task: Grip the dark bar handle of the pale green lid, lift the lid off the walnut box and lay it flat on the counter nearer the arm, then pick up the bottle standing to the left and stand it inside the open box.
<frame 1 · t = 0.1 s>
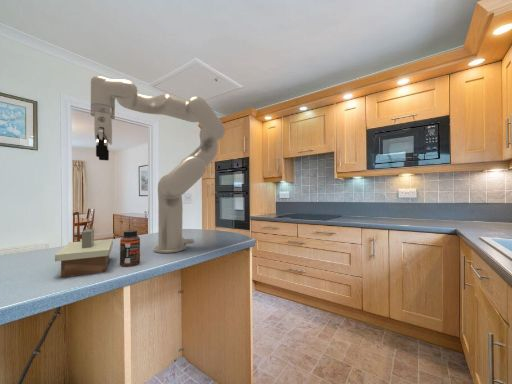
hand: (102, 158, 86), 37 cm above the countertop, tool pointing down, fingers open, 9 cm apart
box: (88, 266, 76), on the countertop
supplement bottle: (130, 264, 79), on the countertop
lid: (88, 251, 76), point 5 cm above the countertop, touching box
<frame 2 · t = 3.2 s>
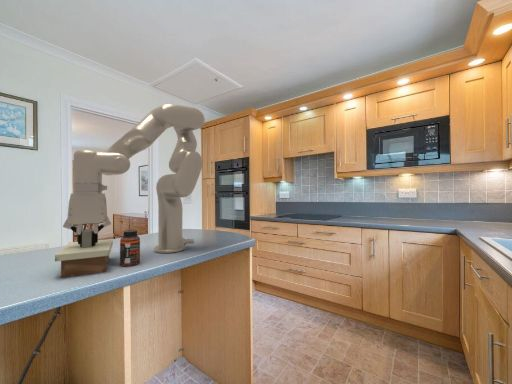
hand: (88, 245, 76), 7 cm above the countertop, tool pointing down, fingers closed on lid, 2 cm apart
lid: (88, 251, 76), point 5 cm above the countertop, touching box, gripper
everything else where it was.
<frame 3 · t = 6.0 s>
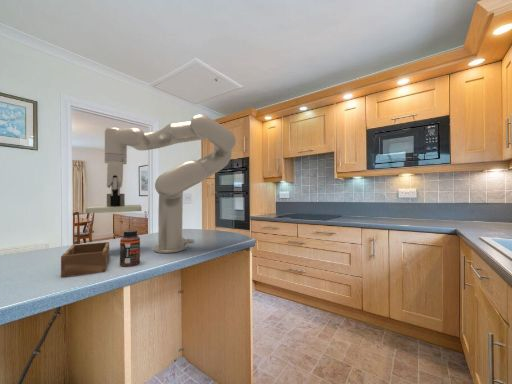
hand: (115, 205, 93), 19 cm above the countertop, tool pointing down, fingers closed on lid, 2 cm apart
lid: (115, 210, 93), point 17 cm above the countertop, touching gripper
everything else where it was.
when the fingers open (3 cm above the countertop, at t = 8.8 s): lid drops 1 cm, on the countertop.
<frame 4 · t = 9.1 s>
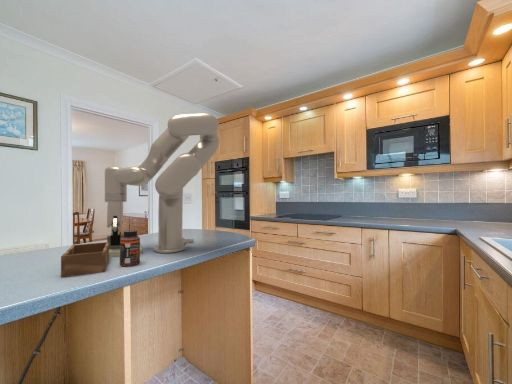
hand: (115, 243, 93), 4 cm above the countertop, tool pointing down, fingers open, 5 cm apart
lid: (116, 252, 93), on the countertop
everything else where it was.
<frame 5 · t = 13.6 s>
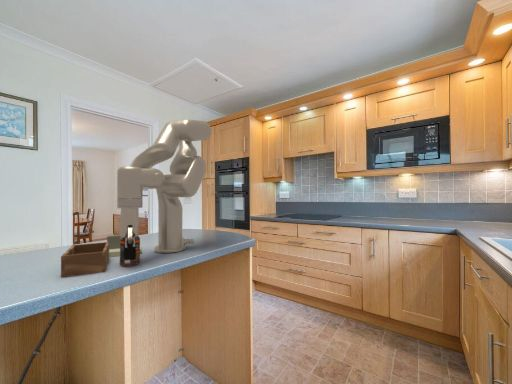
hand: (130, 256, 79), 3 cm above the countertop, tool pointing down, fingers closed on supplement bottle, 6 cm apart
supplement bottle: (130, 264, 79), on the countertop, touching gripper
everything else where it was.
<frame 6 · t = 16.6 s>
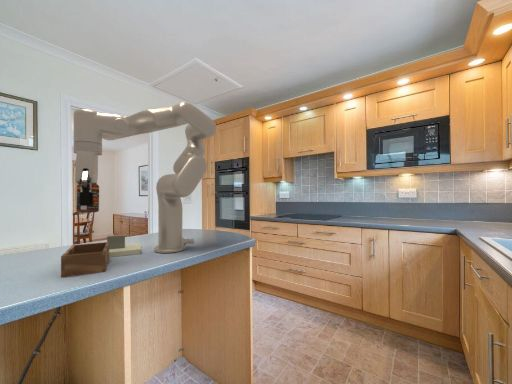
hand: (88, 204, 75), 20 cm above the countertop, tool pointing down, fingers closed on supplement bottle, 6 cm apart
supplement bottle: (88, 212, 75), point 17 cm above the countertop, touching gripper
everything else where it was.
when the fingers open (4 cm above the countertop, at t = 19.9 s): supplement bottle drops 1 cm, resting in box.
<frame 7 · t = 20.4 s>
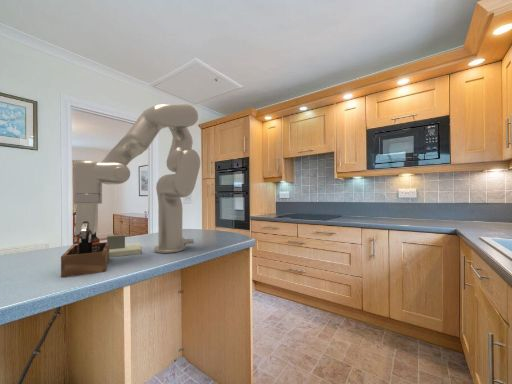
hand: (88, 252, 76), 5 cm above the countertop, tool pointing down, fingers open, 9 cm apart
supplement bottle: (88, 267, 76), resting in box
everything else where it was.
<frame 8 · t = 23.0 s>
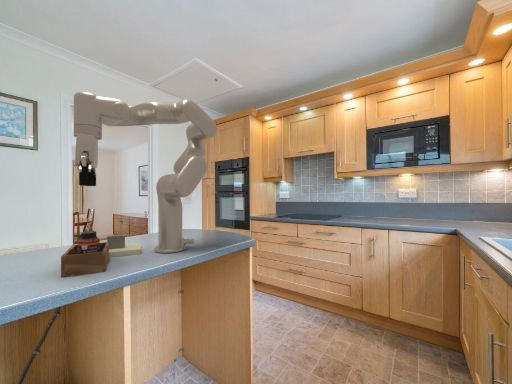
hand: (88, 185, 75), 26 cm above the countertop, tool pointing down, fingers open, 9 cm apart
nothing on the countertop moved.
at the end: lid inside the target area (0.2 cm from its centre), on the countertop; supplement bottle inside the target area on the box (0.1 cm from its centre), point 0.0 cm above the box's base; supplement bottle tilted 0° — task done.
